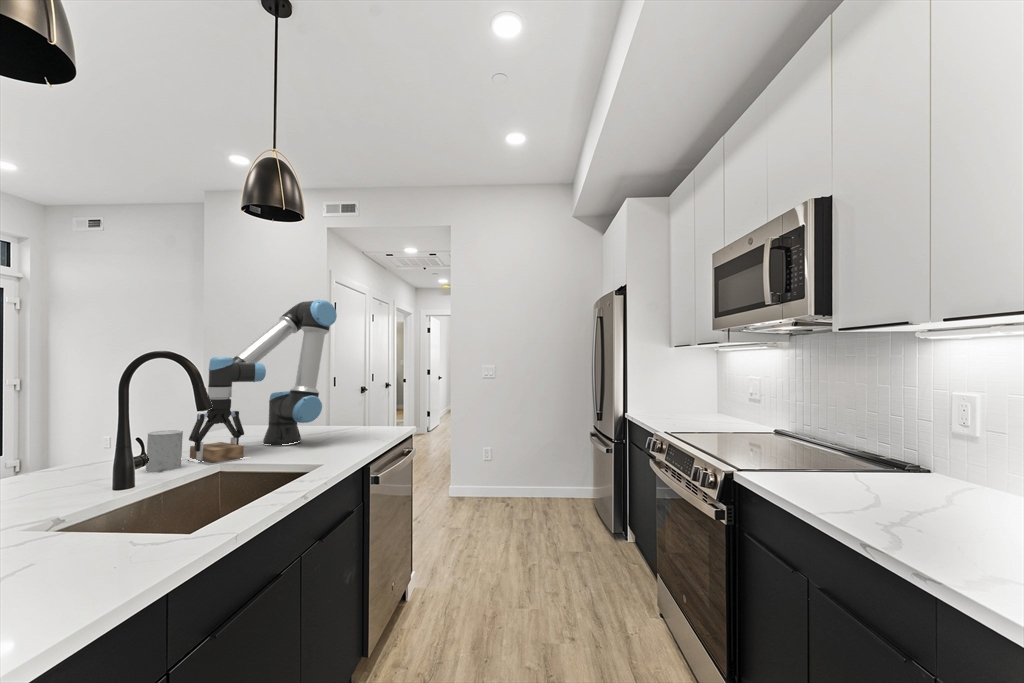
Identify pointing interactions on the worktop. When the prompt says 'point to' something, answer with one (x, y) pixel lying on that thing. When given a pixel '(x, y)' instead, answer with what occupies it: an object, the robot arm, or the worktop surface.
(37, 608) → the worktop surface
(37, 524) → the worktop surface
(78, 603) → the worktop surface
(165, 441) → the grey speckled cylinder
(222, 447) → the board
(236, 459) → the mat
